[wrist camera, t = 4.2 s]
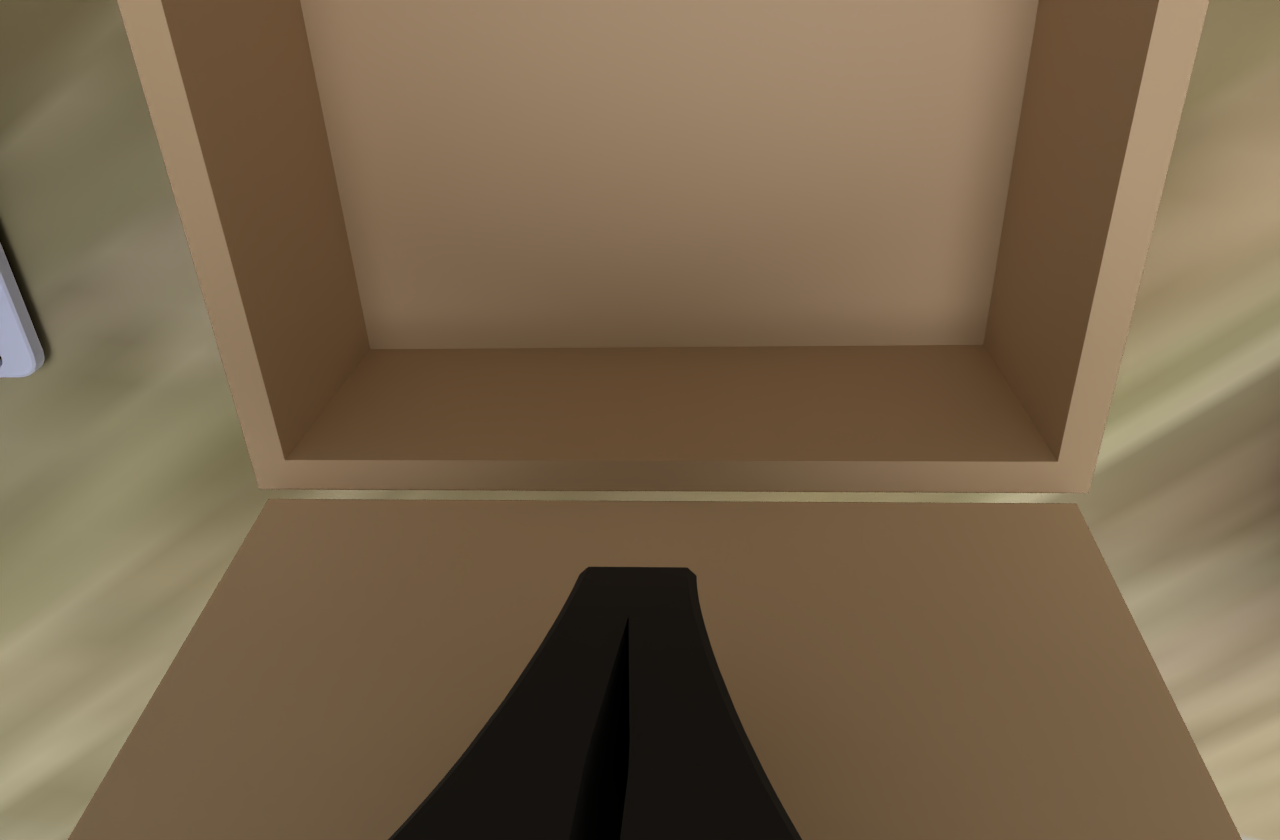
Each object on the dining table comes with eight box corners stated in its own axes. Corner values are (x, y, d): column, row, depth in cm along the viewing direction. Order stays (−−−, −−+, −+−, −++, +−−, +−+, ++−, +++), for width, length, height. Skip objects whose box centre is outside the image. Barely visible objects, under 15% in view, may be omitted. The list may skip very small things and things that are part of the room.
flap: (269, 498, 16) (276, 520, 16) (19, 922, 10) (38, 943, 10) (1076, 503, 14) (1069, 526, 15) (1309, 978, 9) (1291, 1001, 9)
